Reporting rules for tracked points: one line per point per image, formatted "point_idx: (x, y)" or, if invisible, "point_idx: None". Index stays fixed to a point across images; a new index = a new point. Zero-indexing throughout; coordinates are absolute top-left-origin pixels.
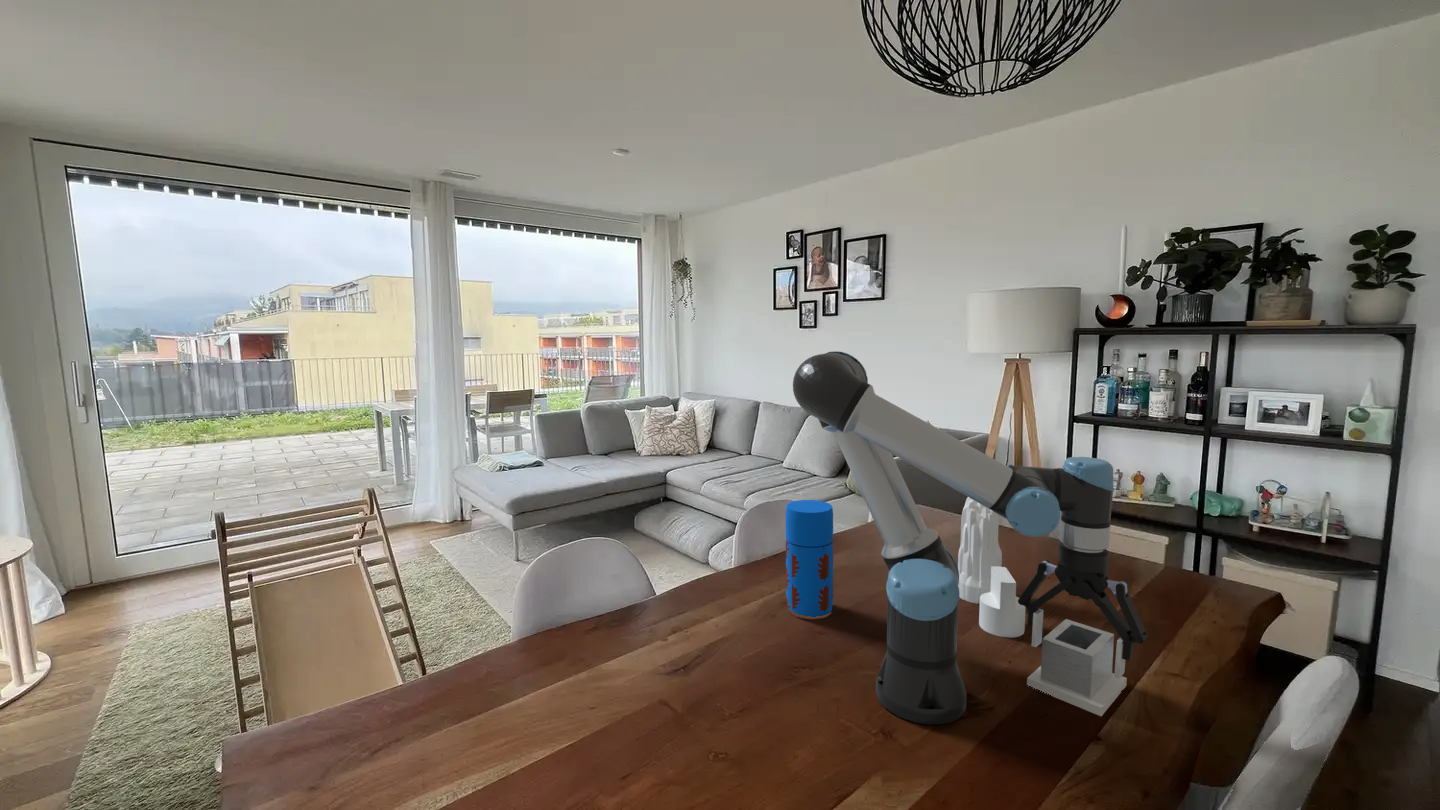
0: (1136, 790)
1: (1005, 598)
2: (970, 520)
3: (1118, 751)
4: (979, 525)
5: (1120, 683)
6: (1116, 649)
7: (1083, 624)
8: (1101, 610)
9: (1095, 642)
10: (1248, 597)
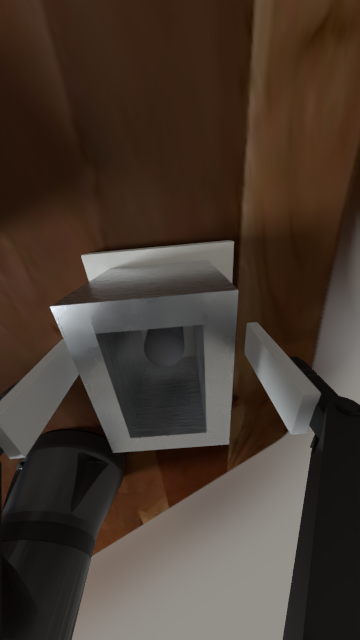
0: (280, 432)
1: None
2: None
3: (257, 401)
4: None
5: (229, 276)
6: (275, 407)
7: (119, 299)
8: (288, 610)
9: (210, 389)
10: None
